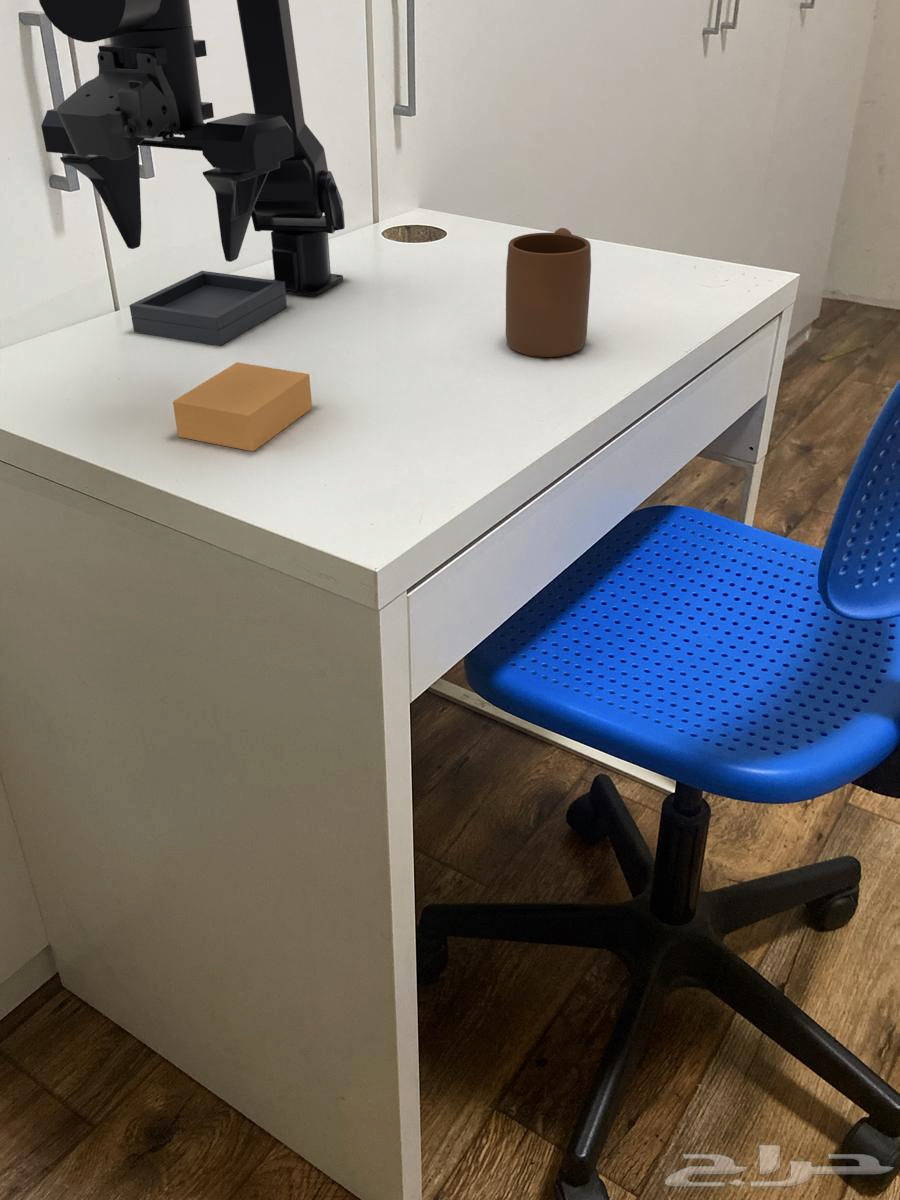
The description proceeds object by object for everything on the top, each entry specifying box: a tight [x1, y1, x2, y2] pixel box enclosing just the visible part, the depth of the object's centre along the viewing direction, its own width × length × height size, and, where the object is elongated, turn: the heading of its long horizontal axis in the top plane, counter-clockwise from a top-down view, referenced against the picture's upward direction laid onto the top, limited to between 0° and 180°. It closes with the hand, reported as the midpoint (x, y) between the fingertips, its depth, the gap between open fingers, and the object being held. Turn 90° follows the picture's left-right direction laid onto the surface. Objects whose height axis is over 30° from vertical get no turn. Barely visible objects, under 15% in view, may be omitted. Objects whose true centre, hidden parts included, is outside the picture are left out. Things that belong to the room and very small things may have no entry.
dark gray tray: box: [129, 270, 288, 347], centre depth 109 cm, size 12×10×3 cm
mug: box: [505, 227, 592, 358], centre depth 102 cm, size 12×8×9 cm, turn 164°
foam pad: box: [172, 362, 313, 452], centre depth 88 cm, size 9×7×3 cm
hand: (182, 254), depth 85 cm, fingers open, 9 cm apart
